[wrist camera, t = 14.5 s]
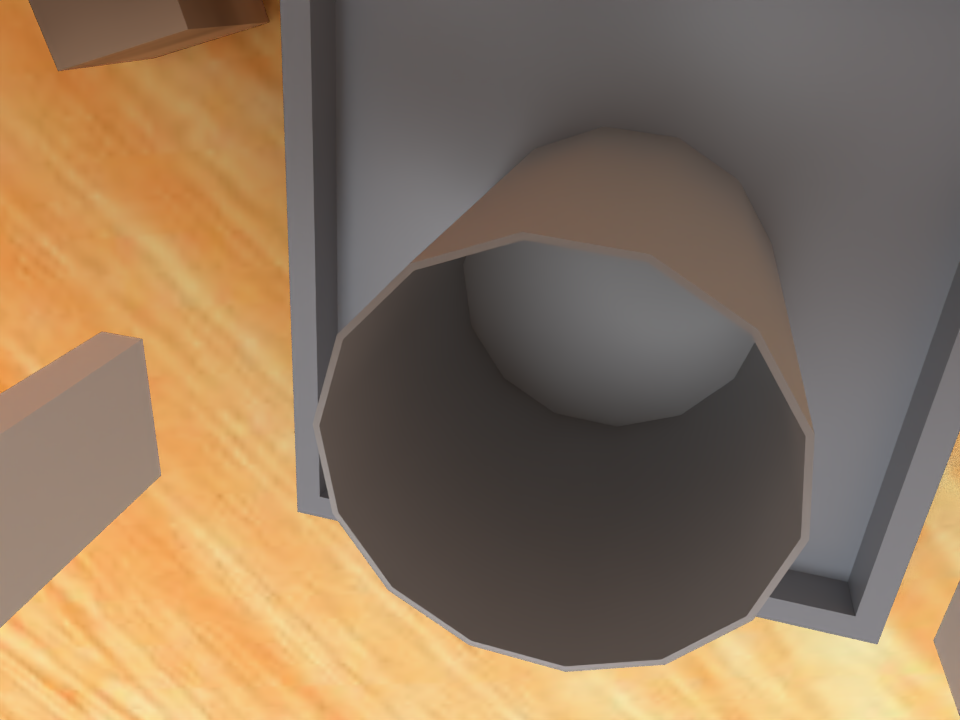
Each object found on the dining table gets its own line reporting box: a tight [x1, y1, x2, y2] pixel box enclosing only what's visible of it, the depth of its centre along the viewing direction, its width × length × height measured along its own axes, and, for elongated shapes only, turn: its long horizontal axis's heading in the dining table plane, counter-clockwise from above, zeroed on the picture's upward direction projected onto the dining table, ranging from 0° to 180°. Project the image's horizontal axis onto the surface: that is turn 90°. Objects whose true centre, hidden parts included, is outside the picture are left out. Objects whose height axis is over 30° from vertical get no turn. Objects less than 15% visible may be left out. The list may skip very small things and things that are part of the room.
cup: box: [313, 127, 815, 672], centre depth 18 cm, size 8×8×10 cm
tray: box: [280, 0, 960, 644], centre depth 22 cm, size 18×18×2 cm
